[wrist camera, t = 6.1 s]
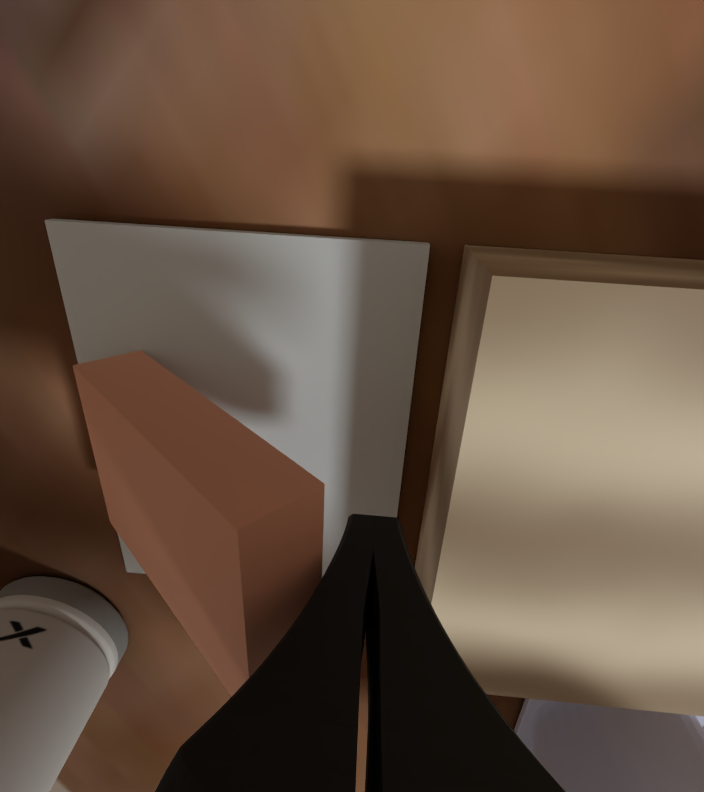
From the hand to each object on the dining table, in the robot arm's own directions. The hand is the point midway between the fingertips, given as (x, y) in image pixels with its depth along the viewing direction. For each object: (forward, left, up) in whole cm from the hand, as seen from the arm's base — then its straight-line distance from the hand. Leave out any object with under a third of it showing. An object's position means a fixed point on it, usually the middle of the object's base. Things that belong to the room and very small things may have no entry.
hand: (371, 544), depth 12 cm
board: (0, -9, -5) cm, 10 cm away
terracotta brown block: (0, +4, -1) cm, 5 cm away
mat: (0, +5, -5) cm, 7 cm away
